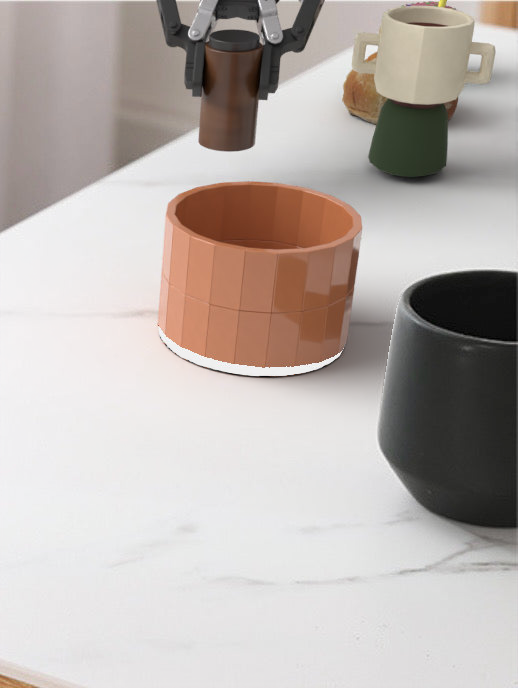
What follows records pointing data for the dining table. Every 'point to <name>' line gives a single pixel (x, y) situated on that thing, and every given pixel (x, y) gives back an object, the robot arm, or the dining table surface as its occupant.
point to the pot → (259, 273)
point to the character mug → (419, 83)
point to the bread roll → (371, 96)
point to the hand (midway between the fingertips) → (230, 92)
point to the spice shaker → (230, 90)
